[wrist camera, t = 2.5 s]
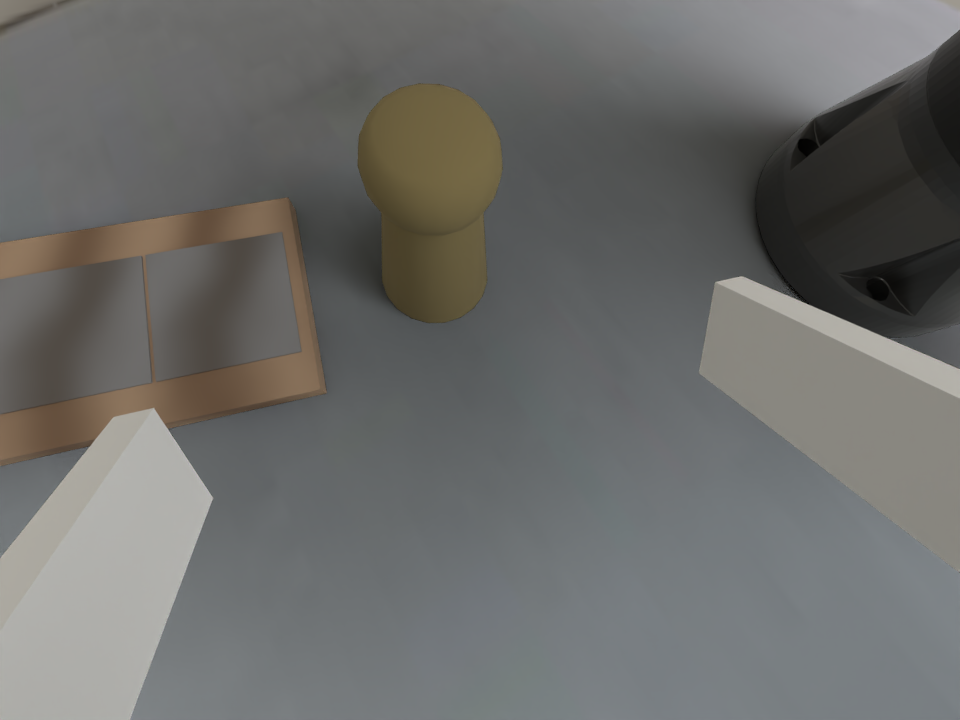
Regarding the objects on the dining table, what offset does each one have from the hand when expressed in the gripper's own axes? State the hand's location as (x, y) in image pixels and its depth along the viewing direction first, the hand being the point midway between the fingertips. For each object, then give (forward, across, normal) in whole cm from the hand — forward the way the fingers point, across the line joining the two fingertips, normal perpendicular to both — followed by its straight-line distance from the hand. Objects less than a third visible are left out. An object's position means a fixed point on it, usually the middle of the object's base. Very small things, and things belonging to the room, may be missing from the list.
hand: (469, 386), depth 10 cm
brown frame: (+15, -17, -2) cm, 23 cm away
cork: (+15, +1, -3) cm, 16 cm away
